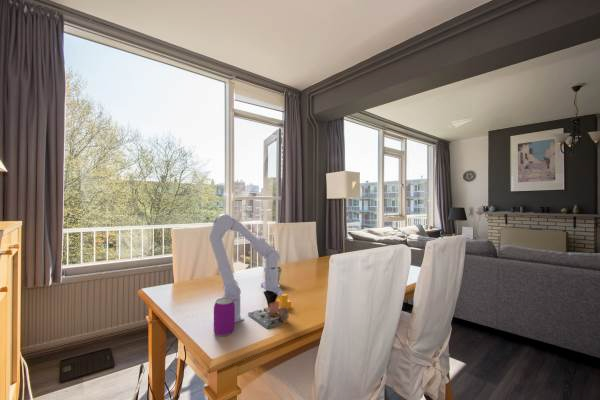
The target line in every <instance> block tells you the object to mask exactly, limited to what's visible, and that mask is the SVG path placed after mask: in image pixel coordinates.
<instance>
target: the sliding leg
mask: <svg viewBox="0 0 600 400" xmlns="http://www.w3.org/2000/svg"><path fill="white" fill-rule="evenodd" d="M279 309H280V307H279V302H277V301H276V302H272V303H269V311H268V312H264V313H260V314H258V315H259V316H260V315H264V314H267V313H271V314H274V313H279Z"/></svg>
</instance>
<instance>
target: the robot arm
mask: <svg viewBox="0 0 600 400" xmlns="http://www.w3.org/2000/svg"><path fill="white" fill-rule="evenodd" d="M229 230H230V231H232V232H238V233H239V234H240V235H241V236H243V237H244V238H245V240H247V241H248V242H249V243H251V244H250V246H251V248H252V249H253V250H254V251H255V252H257V253H258V255H260V256H261V257H263V259H265V260H264V268H265V270H264V282H261V283H260V288H263V289H264V291H263V295H264V297H265V299H266V303H267V307H268V308H269V303H272V302H275V301H276V298H277V296H281V295H283V294H284V293H283V290H282V289H281V286H280V284H278V267H279V261H280V259H281V256H280V254H279V252H278V251H277V250H275V249H274V246H273V245H270V244H269V243H268V242H267V241H266V238H265V237H261V236H255V235H254V234H253V232H251V231H250V230H249V229H248V228H247V227H245V225H243V224H242V223H241V222H239V221H238V220H237V219H235V218H234V217H232V216H230V215H229V214H228V213H220V214H218V216H217V217H216V218H215V219H214V221H213V224H212V227H211V230H210V232H209V233H210V234H209V240H210V244H211V247H212V250H213V254H214V257H215V259H216V263H217V266H218V269H219V273H220V275H221V278H222V282H223V286H222V289H223V291H224V295H223V296H222V298H231V299H233V302H234V305H235V323H238V322H241V321H244V320H245V318H244V317H243V316H242V315H241V293H242V292H241V287H239V283H238V281H237V280H236V279H235V276H234V275H233V273H234V272H233V270H232V268H231V264H230V262H229V257H228V255H227V251H226V248H225V246H224V243H223V237H224V236H225V235H226V233H227V232H228V231H229Z"/></svg>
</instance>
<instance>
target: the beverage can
mask: <svg viewBox="0 0 600 400" xmlns="http://www.w3.org/2000/svg"><path fill="white" fill-rule="evenodd" d="M235 323H236V322H235V305H234V302H233V299H231V298H223V297H221V298H218V299H216V300H215V303H214V306H213V333H214V334H216V336H219V337H226V336H229V335H231V334H232V333H233V332H234V331H235Z"/></svg>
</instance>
